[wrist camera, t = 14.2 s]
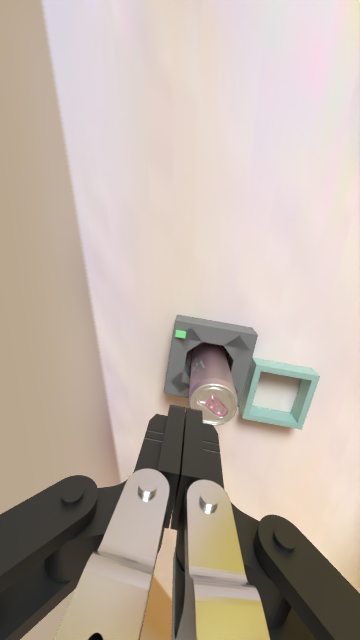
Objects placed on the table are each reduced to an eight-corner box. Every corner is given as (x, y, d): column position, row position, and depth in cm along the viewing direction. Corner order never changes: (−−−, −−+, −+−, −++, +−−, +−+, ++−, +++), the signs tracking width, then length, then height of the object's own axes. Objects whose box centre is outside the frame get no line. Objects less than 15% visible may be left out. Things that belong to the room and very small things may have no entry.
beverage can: (209, 377, 44) (214, 435, 30) (185, 356, 44) (178, 405, 29) (232, 355, 43) (249, 405, 28) (208, 333, 42) (212, 373, 28)
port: (252, 327, 41) (258, 335, 37) (235, 394, 45) (239, 409, 40) (177, 314, 42) (175, 321, 37) (166, 381, 45) (163, 394, 41)
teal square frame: (311, 368, 42) (319, 376, 39) (294, 418, 45) (301, 429, 42) (252, 357, 43) (256, 364, 40) (239, 408, 45) (242, 418, 42)
